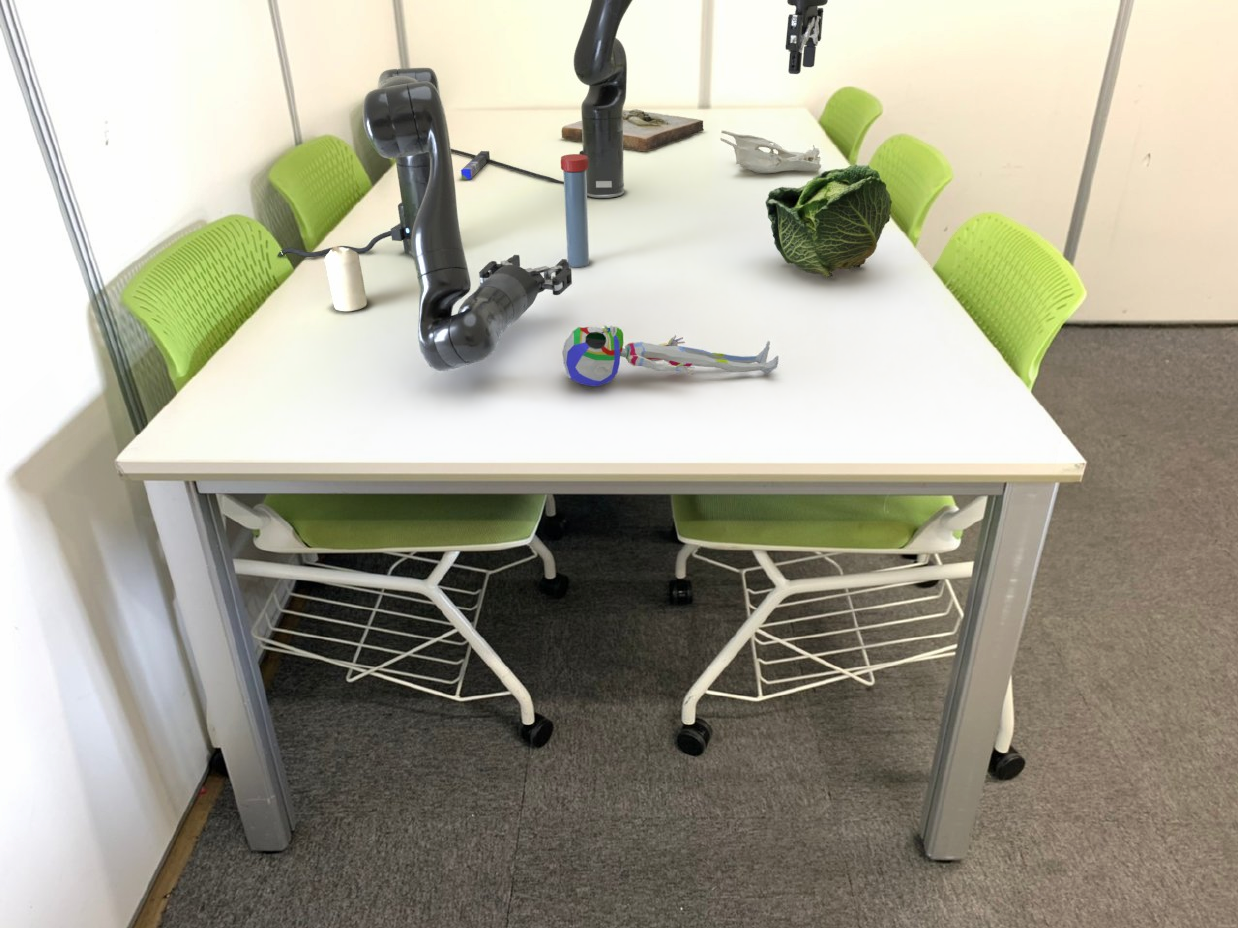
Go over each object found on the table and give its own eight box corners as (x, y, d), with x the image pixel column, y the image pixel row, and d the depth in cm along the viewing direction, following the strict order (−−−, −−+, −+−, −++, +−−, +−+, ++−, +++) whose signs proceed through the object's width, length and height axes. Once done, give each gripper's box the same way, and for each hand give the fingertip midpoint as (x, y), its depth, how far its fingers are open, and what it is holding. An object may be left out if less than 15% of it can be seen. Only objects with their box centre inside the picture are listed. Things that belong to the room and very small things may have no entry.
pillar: (489, 151, 236) (469, 170, 219) (489, 159, 237) (470, 179, 220) (481, 151, 236) (460, 170, 220) (481, 159, 237) (461, 179, 221)
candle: (373, 301, 154) (363, 244, 149) (355, 313, 150) (344, 255, 145) (346, 297, 156) (335, 241, 150) (327, 309, 151) (316, 252, 146)
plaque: (647, 125, 237) (559, 112, 252) (647, 153, 241) (560, 139, 256) (706, 107, 258) (622, 97, 273) (705, 133, 262) (622, 121, 277)
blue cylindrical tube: (566, 267, 168) (561, 162, 157) (568, 260, 171) (564, 157, 161) (588, 267, 167) (584, 162, 157) (590, 260, 171) (586, 157, 161)
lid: (559, 172, 158) (558, 160, 157) (562, 165, 162) (562, 154, 161) (586, 172, 158) (586, 160, 157) (589, 165, 162) (589, 154, 161)
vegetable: (790, 294, 172) (743, 202, 165) (870, 239, 174) (827, 145, 166) (841, 308, 154) (791, 205, 146) (931, 246, 155) (886, 140, 148)
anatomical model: (722, 127, 227) (822, 125, 223) (721, 164, 232) (819, 163, 228) (719, 141, 215) (824, 139, 211) (718, 179, 220) (821, 179, 216)
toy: (785, 354, 123) (568, 337, 118) (772, 408, 127) (562, 393, 123) (768, 325, 132) (564, 307, 127) (755, 376, 136) (559, 361, 131)
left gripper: (545, 278, 134) (580, 244, 147) (458, 270, 137) (500, 237, 150) (548, 325, 138) (582, 287, 151) (463, 315, 141) (503, 280, 154)
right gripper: (802, -27, 174) (794, 64, 182) (777, -21, 163) (770, 74, 172) (840, -26, 171) (830, 66, 179) (817, -20, 160) (808, 77, 169)
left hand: (541, 262), depth 151 cm, fingers open, 8 cm apart
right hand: (801, 70), depth 176 cm, fingers open, 8 cm apart
